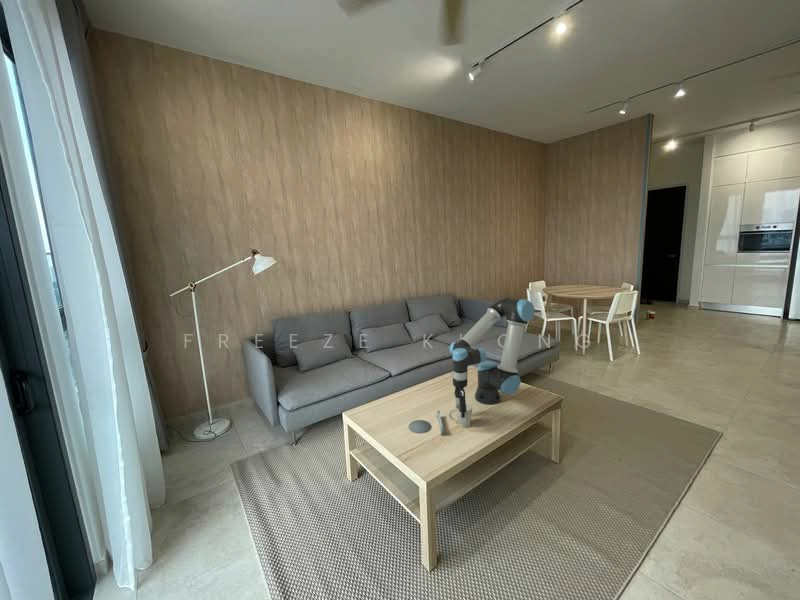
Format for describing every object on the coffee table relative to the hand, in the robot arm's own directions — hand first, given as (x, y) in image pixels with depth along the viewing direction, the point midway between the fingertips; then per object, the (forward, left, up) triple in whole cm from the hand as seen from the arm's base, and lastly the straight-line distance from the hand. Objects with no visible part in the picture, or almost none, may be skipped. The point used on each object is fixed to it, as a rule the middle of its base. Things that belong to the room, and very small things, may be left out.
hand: (460, 415), depth 169 cm
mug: (0, 0, -5) cm, 5 cm away
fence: (+11, +1, -5) cm, 12 cm away
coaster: (+22, +1, -5) cm, 23 cm away
